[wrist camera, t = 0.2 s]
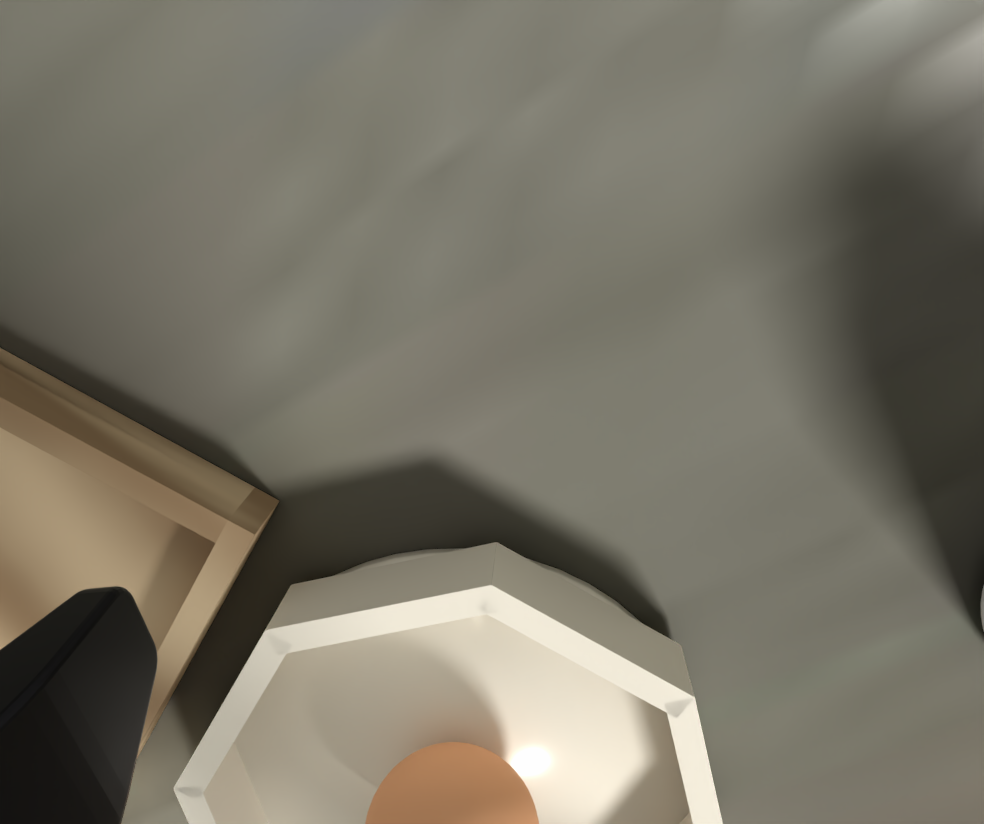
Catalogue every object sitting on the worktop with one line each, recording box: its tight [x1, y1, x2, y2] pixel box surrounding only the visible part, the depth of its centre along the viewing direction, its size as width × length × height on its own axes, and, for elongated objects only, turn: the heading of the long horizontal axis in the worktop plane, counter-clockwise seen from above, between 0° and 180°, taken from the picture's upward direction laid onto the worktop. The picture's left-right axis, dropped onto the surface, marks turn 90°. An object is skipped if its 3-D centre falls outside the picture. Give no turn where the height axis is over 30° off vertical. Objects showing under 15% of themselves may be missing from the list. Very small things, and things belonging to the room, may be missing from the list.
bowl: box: [173, 542, 723, 824], centre depth 26 cm, size 15×15×3 cm
